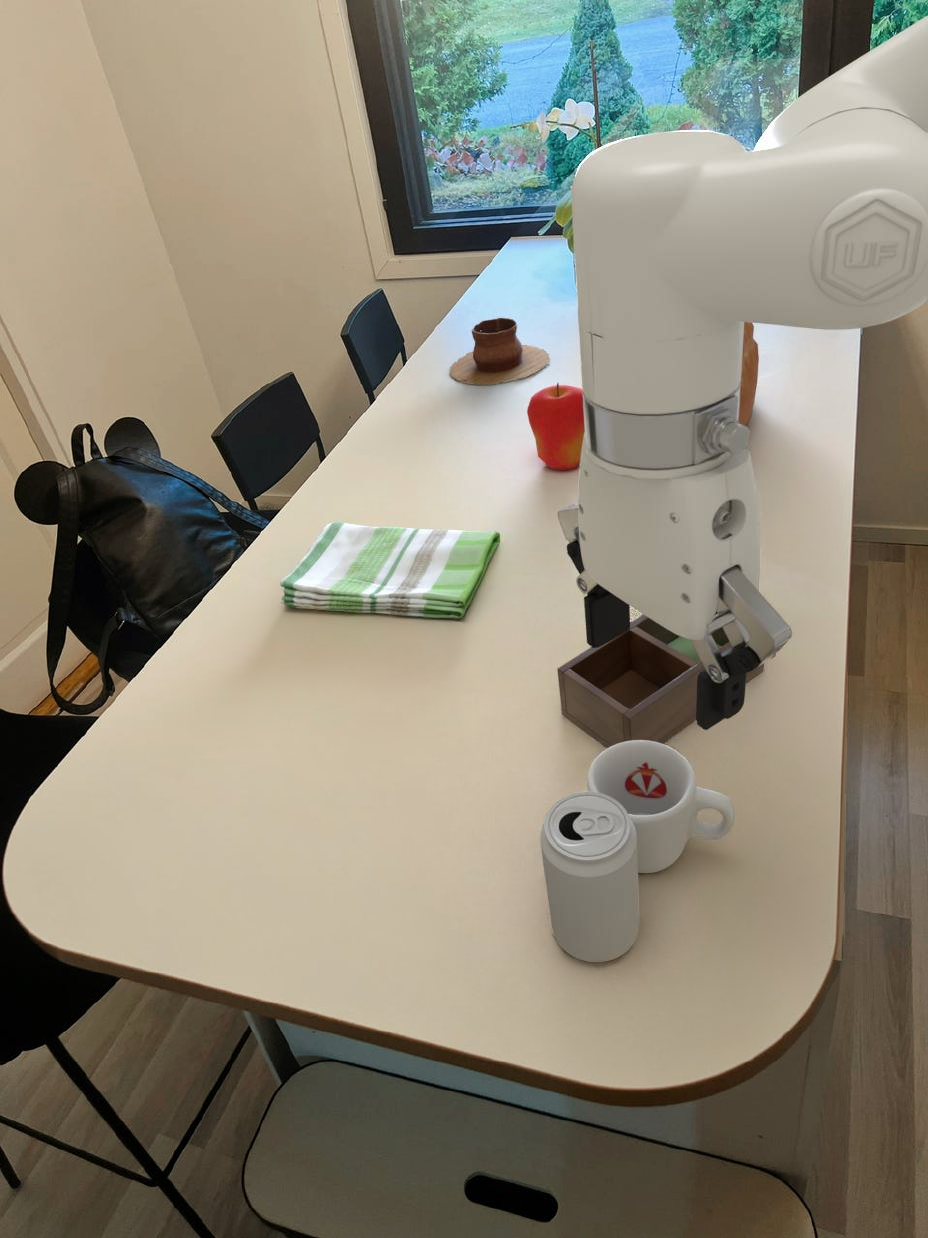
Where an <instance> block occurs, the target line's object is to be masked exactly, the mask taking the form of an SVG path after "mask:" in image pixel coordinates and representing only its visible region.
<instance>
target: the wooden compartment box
mask: <svg viewBox="0 0 928 1238" xmlns="http://www.w3.org/2000/svg"><path fill="white" fill-rule="evenodd" d="M716 614H718V613H717V611H716V613H715V615H716ZM711 635H712V637H713V639H714V641H715V643H716V645H717V647H718V649H719V651H720V653H721V654H722V653H724V652H726V651H727V650H729V649H731V648H733V647H732V645H731V643H730V641H729V639H728V637H727V635H726V633H725V631H724V630H723V628H720V629H718V630H716V631H715V632H713V633H711ZM556 669H557V670H556V671H557V680H558V689H559V698H560V699H559V700H560V709H561V710H560V711H561V715H562V716H563V717H565V718H566V719H567V720H569V721H570V722H571V723H573V725H575V726H576V727H578V728H580V729H581V730H582V731H583V732H585V733H586V734H587V735H589V736H590V737H592V738H593V739H595V741H597V742H598V743H600V744H601V745H602V746H604V747H605V748H606V749H607V748H609V747H611V746H613V745H616V744H618V743H622V742H626V741H632V740H648V741H654V742H658V743H661V744H665V743H666V742H667V741H669V740H670V739H672V738H674V737H675V736H676V735H677V734H678V733H680V732H682V731H683V730H684V729H685V728H687V727H688V726H689V725H691V724H692V723H694V722H695V721H696V703H697V677H698V675H699V673H700V672H702V671H703V670H705V668H704V666H703V664H702V662H701V660H700V658H699V656H698V654H697V652H696V650H695V648H694V646H693V644H692V642H691V640H690V639H687V638H684V637H681V636H679V635H677V634H675V633H673V632H671V631H669V630H668V629H666V628H664V627H663V626H661V625H660V624H658V623H656V622H655V621H653V620H652V619H650V618H649V617H647V616H645V615H644V614H641V615H640V616H638V617H636V618H634V619H633V620H631V621H630V629H629V630H628V631H627V632H625V633H624V634H622V635H620V636H618V637H617V638H615V639H613V640H611V641H609V642H608V643H606V644H604V645H602V646H600V647H599V648H593V647H591V646H590V647H589V648H587V649H586V650H584V651H583V652H581V653H579V654H578V655H576V656H574V657H573V658H572V659H570V660H569V661H567V662H566V663H564V664H562V665H561V666H559V667H558V668H556ZM763 671H765V663H764V664H762V665H760V666H759V667H757V668H755V669H754V670H752V671H750V672H747V673H746V684H747V683H748V682H750V681H752V679H754V678H756V677H757V676H758V675H760V674H761V673H763Z"/></svg>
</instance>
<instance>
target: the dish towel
mask: <svg viewBox="0 0 928 1238" xmlns="http://www.w3.org/2000/svg"><path fill="white" fill-rule="evenodd" d="M500 543H501V533H500V532H499V531H496V530H495V531H494V530H491V531H482V530H479V531H478V530H456V529H441V528H440V529H425V528H410V527H398V526H369V525H362V524H361V525H360V524H350V523H347V522H342V521H333V522H330V523H327V524H326V525H325V526H324V527H323V528H322V529H321V531H320V532H319V533H318V536H317V537H316V538H315V540H314V541H313V543H312V544H311V546H310V547H309V549H308V550H307V552H306V553H305V554H304V556H303V557H302V558H301V559H300V561H299V562H298V563H297V564H296V565H295V567H294V568H293V569H292V570H291V571H290V572H289V574H287V575H286V576H284V577H283V579H281V580H280V581H279V584H280V587H282V588H283V589H282V592H283V596H282V597H281V605H283V606H284V607H288V608H293V609H309V610H323V611H332V612H348V613H359V614H360V613H361V614H363V613H369V614H371V613H373V614H385V615H393V616H403V617H404V616H405V617H406V616H407V617H423V618H432V619H433V618H434V619H462V618H463V617H464V616H465V614H466V611H467V609H468V608H469V606H470V605H471V603H472V601H473V598H474V595H475V593H476V591H477V589H478V587H479V585H480V584H481V582H482V580H483V578H484V575H485V573H486V570H487V568H488V564H489V562H490V560H491V558H492V557H493V555H494V552H495V551H496V549H497V547H498V546H499V545H500Z"/></svg>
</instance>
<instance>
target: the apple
mask: <svg viewBox="0 0 928 1238" xmlns="http://www.w3.org/2000/svg"><path fill="white" fill-rule="evenodd" d="M529 400H530V401H529V402H528V406H527V409H526V413H527V414H526V415H527V418H528V422H529V426H530V428H531V431H532V434H533V437H534V439H535V446H536V453H537V457H538V458H539V459H540V460H541V461H542V462H543V463H544V464H545V465H546V466H547V467H548V468H550V469H553V470H559V471H568V470H572V469H574V468H576V467H577V466H580V459H581V450H582V443H583V437H584V433H585V426H584V409H583V389H582V387H577V386H572V385H566V384H559V382H557V383H556V385H551V386H547V387H544V388H542V389H540V390H539V391H537V392H535V393H534V394H533V395H532V396H531V397H530V399H529Z"/></svg>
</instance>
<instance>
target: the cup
mask: <svg viewBox="0 0 928 1238" xmlns="http://www.w3.org/2000/svg"><path fill="white" fill-rule="evenodd" d="M586 777H587V778H586V786H587V792H597V793H601V794H605V795H607V796H610V797H612V798H613V799H615V800H616V801H618V802H619V803H620V804H621V805H622V806H623V807H624V808H625V810H626V811H627V813H628V815H629V818H630V819H631V821H632V822H633V824H634V826H635V829H636V834H637V860H638V874H652V873H657V872H660V871H663V870H665V869H668V868H670V866H672V865H673V864H674V863H675V862H676V861H677V860H678V859H679V858H680V856H681V855H682V853H683V851H684V848H685V846H686V844H687V842H688V841H689V840H691V839H698V840H705V841H716V840H717V841H718V840H722V839H724V838H725V837H726V836H728V835H729V834H730V832H731V831H732V829H733V827H734V823H735V808H734V805H733V803H732V800H731V799H730V798H729V797H728V796H727V795H725V794H723V793H721V792H720V791H717V790H713V789H707V788H702V787H699V786H698V785H697V779H696V774H695V771H694V769H693V766H692V765H691V763H690V761H688V759H687V758H686V757H685V756H684V755H683V754H682V753H680V752H679V751H678V750H676V749H674V748H673V747H671V746H670V745H666V744H665V743H663V744H661V743H658V742H654V741H648V740H632V741H626V742H622V743H618V744H616V745H613V746H611V747H609V748H606V749H605V750H603V751H602V752H600V753H599V754H598V755H597V756H596V757H595V758H594V759H593V761H592V763H591V765H590V766H589V768H588V772H587V776H586ZM706 809H707V810H714V811H717V812H719V813H720V814H721V816H722V818H721V819H720V820H719V821H718V822H716V823H706V822H704V821H702V820H700V819H699V818H698V816H697V814H698V813H699V812H700V811H702V810H706Z"/></svg>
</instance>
